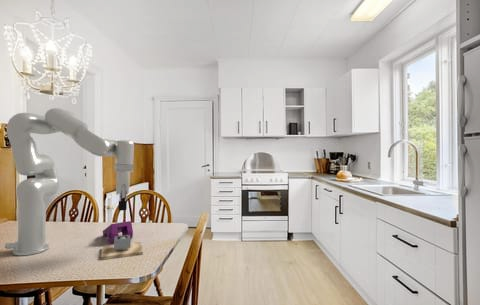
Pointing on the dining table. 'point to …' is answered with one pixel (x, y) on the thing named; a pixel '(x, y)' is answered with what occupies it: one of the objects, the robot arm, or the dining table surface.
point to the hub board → (121, 251)
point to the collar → (122, 242)
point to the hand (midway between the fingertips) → (122, 209)
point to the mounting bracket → (118, 230)
